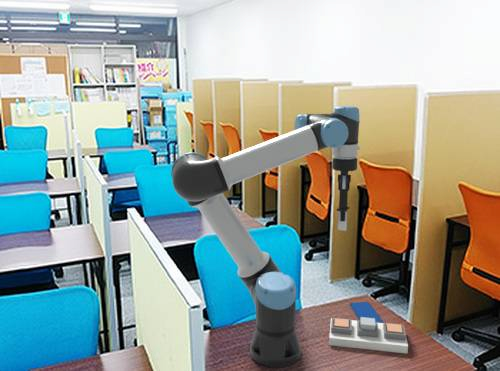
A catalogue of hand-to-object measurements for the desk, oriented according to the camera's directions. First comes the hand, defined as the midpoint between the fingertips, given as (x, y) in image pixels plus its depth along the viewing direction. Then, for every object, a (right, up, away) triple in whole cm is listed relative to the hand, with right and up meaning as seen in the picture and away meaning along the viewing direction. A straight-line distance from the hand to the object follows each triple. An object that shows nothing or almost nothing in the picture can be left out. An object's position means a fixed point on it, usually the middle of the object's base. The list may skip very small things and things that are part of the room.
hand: (342, 229), depth 149 cm
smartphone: (+11, -31, +13) cm, 35 cm away
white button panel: (+7, -34, -3) cm, 35 cm away
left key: (-1, -31, -2) cm, 31 cm away
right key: (+15, -32, -5) cm, 35 cm away
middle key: (+7, -30, -4) cm, 31 cm away
